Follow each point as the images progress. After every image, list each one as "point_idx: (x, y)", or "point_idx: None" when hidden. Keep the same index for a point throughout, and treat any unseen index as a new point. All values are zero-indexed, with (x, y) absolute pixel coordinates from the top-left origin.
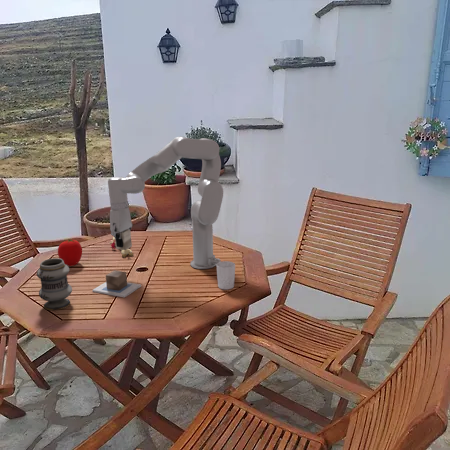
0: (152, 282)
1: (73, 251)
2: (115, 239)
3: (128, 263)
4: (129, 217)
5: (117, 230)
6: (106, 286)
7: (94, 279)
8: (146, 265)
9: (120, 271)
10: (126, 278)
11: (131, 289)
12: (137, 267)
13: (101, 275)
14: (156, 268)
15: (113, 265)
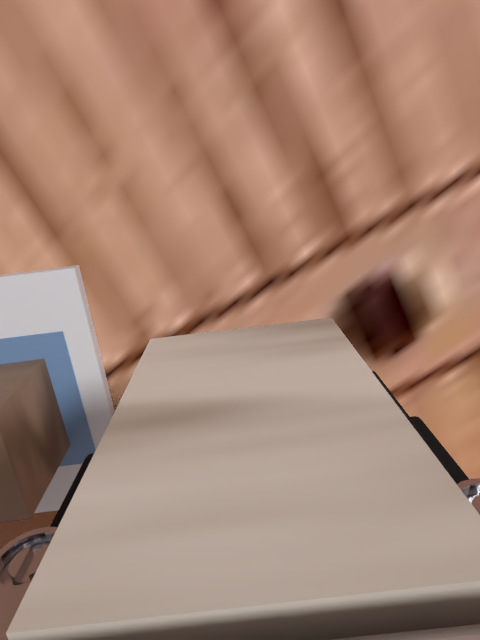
0: None
1: None
2: (106, 444)
3: (463, 117)
4: None
5: (241, 617)
6: None
7: (23, 113)
8: (465, 293)
9: (9, 474)
10: (48, 480)
11: (42, 500)
12: (403, 258)
13: (122, 101)
14: (433, 393)
15: (369, 10)
